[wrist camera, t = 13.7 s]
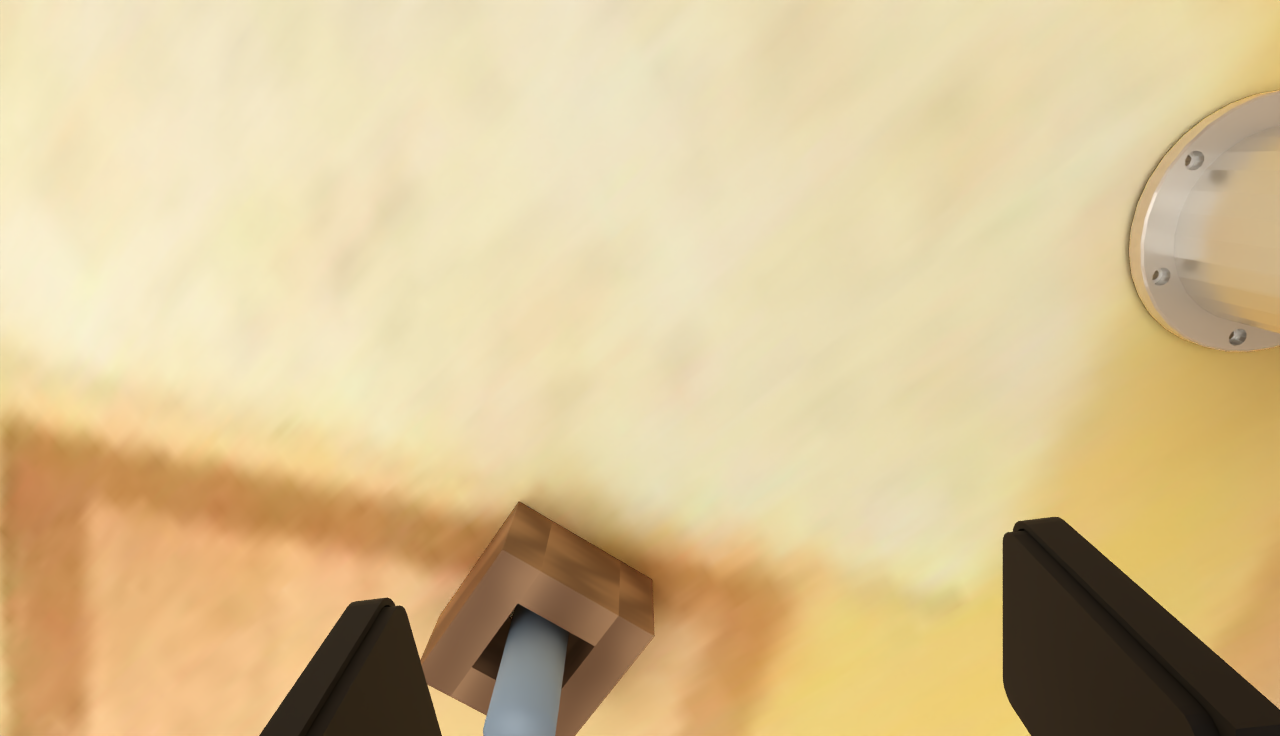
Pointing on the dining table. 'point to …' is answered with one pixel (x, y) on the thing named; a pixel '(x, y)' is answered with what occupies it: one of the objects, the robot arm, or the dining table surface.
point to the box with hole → (556, 590)
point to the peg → (528, 678)
